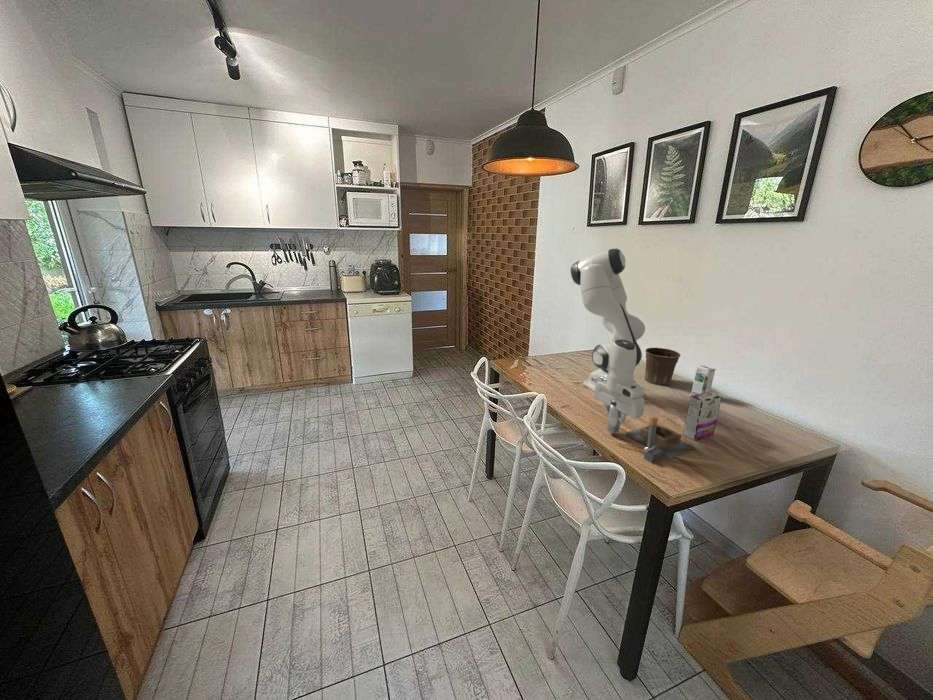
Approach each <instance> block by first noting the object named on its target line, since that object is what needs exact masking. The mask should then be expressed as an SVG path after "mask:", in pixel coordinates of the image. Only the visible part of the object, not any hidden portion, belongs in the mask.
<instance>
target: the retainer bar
mask: <svg viewBox="0 0 933 700" xmlns="http://www.w3.org/2000/svg"><path fill="white" fill-rule="evenodd" d="M658 421H659V419H658V417H656V416H652V417H650V418H649V421H648V426H649V432H648V441H647V446H648V447H651V446H654V445H655V436H656V427H657V424H658ZM647 446H646V447H647Z"/></svg>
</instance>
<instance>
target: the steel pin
mask: <svg viewBox="0 0 933 700" xmlns="http://www.w3.org/2000/svg"><path fill="white" fill-rule="evenodd" d="M621 413H622V412H621V411H619V410H617V409H616V402H614V401H612V400H611V404H610V410H609V416H608V419H607V427H606V429H607V430H608V431H609V432H612V433H619V432H620V429H621V422H619V421H618V417H621V416H622V414H621Z"/></svg>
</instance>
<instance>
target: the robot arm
mask: <svg viewBox="0 0 933 700" xmlns="http://www.w3.org/2000/svg"><path fill="white" fill-rule="evenodd" d="M625 268H626V257H625V255H624V253H623V252H622V251H621V250H620V249H618V248H609V249H608V250H604V251H601V252H597V253H594V254H592V255H590V256H588V257H584V258H583V259H581V260H578V261H576V262H574V263H573V264H572V265H571V267H570V277H571V279H572V281H573V283H574V284H576V285H578V286H580V293H581V298H582V303H583V305H584V308H585V309H586V310H587V311H588V312H589V313H591V314H593V315H597V316H600V317H602V320H601V321H602V325H603V326H604V328H605V329H606V330H607V331H608V332H610V333H611V334H613V337H612V340H611V342H608V343H600V344H596V346H595V347H594V349H593V350H592V354H591V359H592V363H593V364H594V365H595V367H597V368H598V369H596V370H594V371H592V372H591V373H589V375H588V378H587V379H586V380H584V381H583V383H582V384H583V386H586V387H587V388H589V389H590V390H591V391H593V398H594V400H597V401H599V402H601V403H603V404H604V406H603V407H604V410H605V415H606V416H608V417H609V410H610V404H611V400H612V401H614V402H616V409H617V410H619V411H621V412H622V413H621V414H622V416H621V417H618V421H619V422H621V423H624V422H625V420H626V418H627V417H628V416H629V417H630V418H633V419H638V418H641V417H643V415H644V411H645V398H644V396H645V394H646V390H645V389H644V388H643V387H641V385H639V384H638V383H637V382H636V381H634V378H635V377H634V371H635V369H636V367H637V366H638V365H639V363H640V361H641V360H642V356H643V353H642V349H641V347H640V345H639V344H638V342H637V341H638V340H639V339H641V338H642V337H643V335H644V334H645V331H646V325H645V324H644V322H643V321H642V320H641V319H640V318H639V317H637V316H636V315H633V314H630V313H629V312H628V310H627V306H626V305H627V304H626V302H627V301H628V296H627V293H626V290H625V287H624V285H623V281H622V279H621V276H620V274H621V273H622V272H623V271H624V270H625ZM621 423H620V424H621Z"/></svg>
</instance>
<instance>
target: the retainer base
mask: <svg viewBox="0 0 933 700" xmlns="http://www.w3.org/2000/svg"><path fill="white" fill-rule="evenodd" d="M642 451H643V453H644V456H643V459H644V460H646V461H648V462H649V463H651V464H653V463H655V462H659V461H661V460H662V459H663V451H661V450H660V449H658V448H657V446H656V445H654V446H651V447H647V446H646V447H644V448H643V449H642Z"/></svg>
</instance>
